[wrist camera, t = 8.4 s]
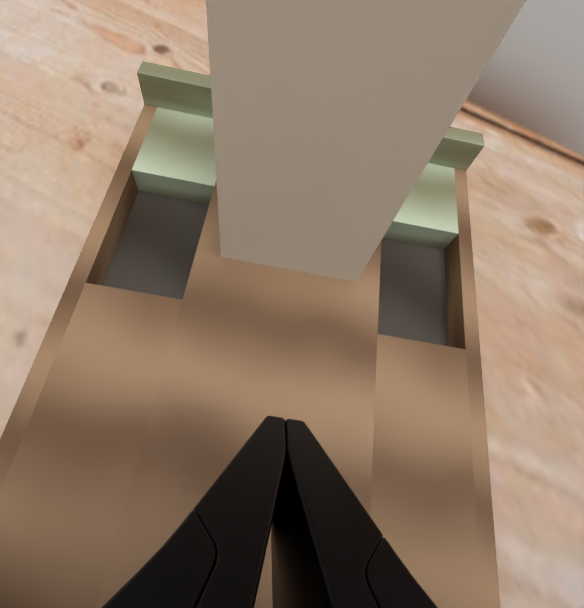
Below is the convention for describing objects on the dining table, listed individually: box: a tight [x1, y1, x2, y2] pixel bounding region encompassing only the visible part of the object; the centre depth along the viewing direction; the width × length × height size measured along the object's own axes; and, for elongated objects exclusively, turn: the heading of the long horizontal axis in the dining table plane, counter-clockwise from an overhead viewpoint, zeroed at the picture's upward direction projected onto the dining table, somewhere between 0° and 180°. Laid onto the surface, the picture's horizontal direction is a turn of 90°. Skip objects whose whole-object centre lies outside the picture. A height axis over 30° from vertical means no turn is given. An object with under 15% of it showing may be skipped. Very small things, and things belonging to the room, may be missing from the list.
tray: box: [0, 61, 500, 608], centre depth 19 cm, size 27×20×4 cm
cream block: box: [206, 0, 526, 282], centre depth 15 cm, size 7×7×14 cm
